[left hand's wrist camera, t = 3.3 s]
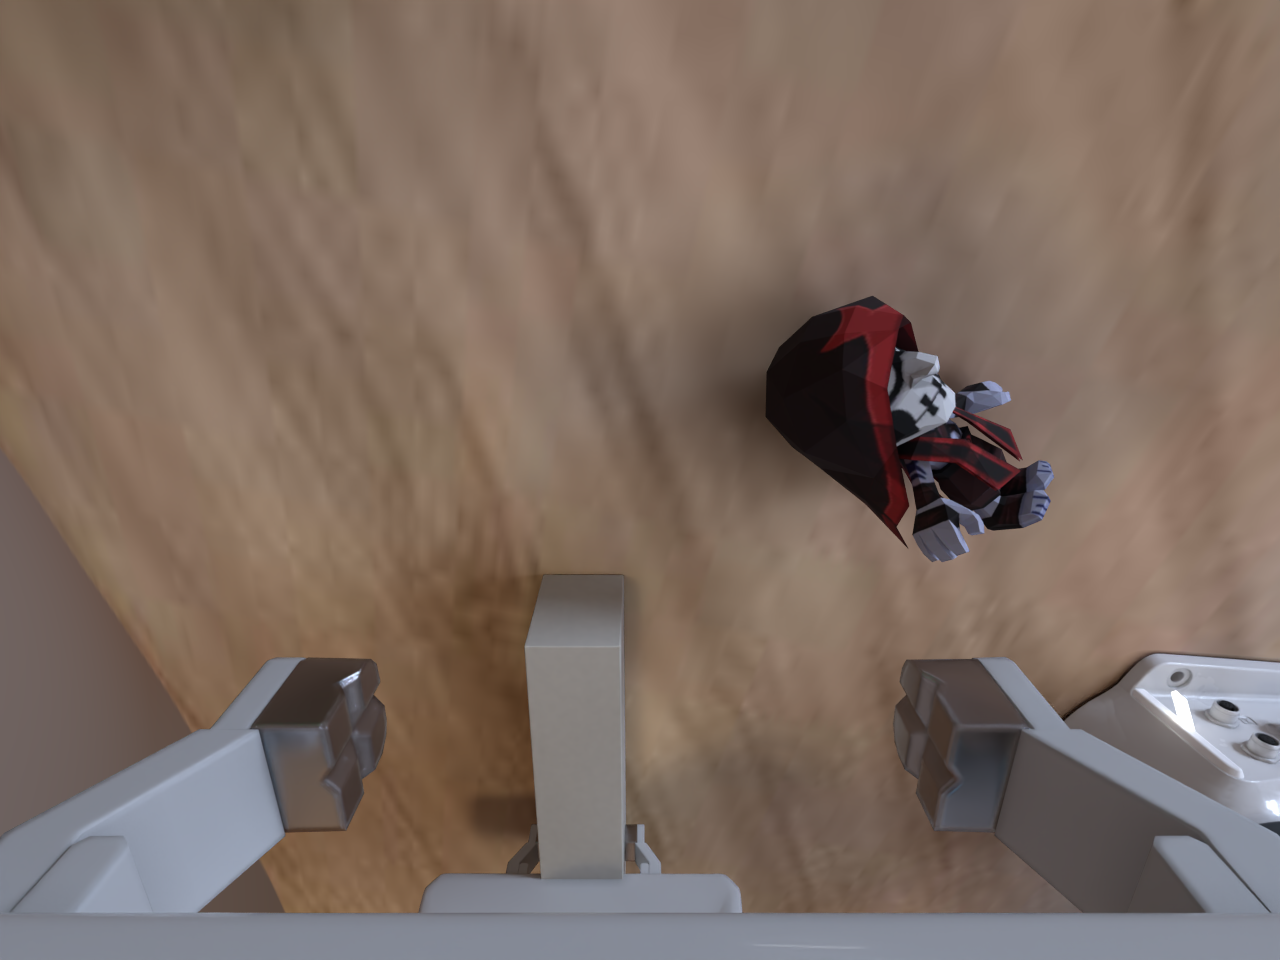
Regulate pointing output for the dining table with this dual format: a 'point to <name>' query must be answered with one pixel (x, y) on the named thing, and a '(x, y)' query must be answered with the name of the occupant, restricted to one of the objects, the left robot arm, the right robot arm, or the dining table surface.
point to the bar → (578, 725)
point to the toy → (899, 428)
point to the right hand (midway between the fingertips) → (589, 830)
